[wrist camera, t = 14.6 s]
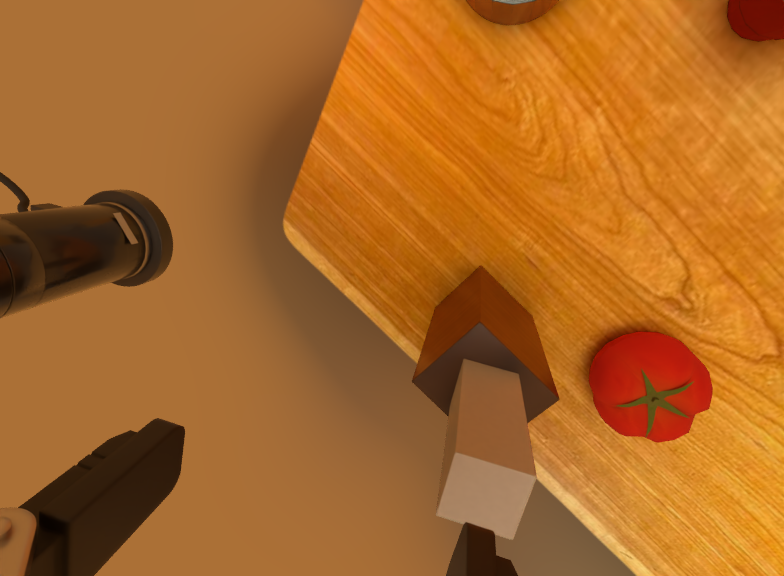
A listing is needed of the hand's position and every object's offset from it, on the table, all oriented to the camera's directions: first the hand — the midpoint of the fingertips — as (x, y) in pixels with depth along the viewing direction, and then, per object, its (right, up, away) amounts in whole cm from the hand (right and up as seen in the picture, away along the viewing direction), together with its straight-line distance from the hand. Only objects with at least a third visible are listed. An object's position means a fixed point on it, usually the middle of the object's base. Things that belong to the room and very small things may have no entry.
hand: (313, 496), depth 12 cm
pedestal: (+12, +3, +37) cm, 40 cm away
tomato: (+28, -3, +36) cm, 46 cm away
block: (+9, -2, +20) cm, 22 cm away
